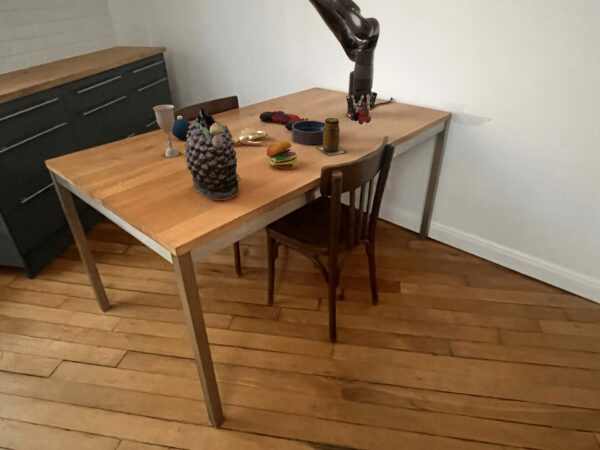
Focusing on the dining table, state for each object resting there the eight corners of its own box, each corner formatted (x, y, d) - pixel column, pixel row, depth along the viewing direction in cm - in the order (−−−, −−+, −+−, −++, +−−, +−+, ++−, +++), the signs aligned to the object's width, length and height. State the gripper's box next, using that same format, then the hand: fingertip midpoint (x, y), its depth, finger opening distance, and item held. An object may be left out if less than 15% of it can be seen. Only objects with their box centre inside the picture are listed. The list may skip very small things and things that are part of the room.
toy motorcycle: (293, 135, 176) (318, 122, 184) (292, 124, 173) (317, 111, 181) (257, 124, 192) (281, 112, 200) (255, 114, 188) (280, 102, 196)
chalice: (164, 159, 151) (154, 111, 141) (160, 153, 156) (151, 106, 147) (183, 155, 154) (175, 108, 144) (179, 149, 159) (171, 103, 149)
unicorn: (246, 141, 154) (214, 136, 163) (247, 151, 156) (216, 145, 165) (278, 127, 168) (248, 122, 177) (279, 136, 170) (249, 131, 179)
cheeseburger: (289, 173, 140) (282, 145, 135) (265, 174, 146) (258, 147, 141) (304, 163, 147) (298, 136, 143) (280, 164, 153) (274, 138, 149)
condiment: (334, 145, 163) (335, 116, 157) (345, 152, 156) (347, 122, 150) (318, 148, 160) (318, 118, 154) (328, 155, 154) (329, 124, 147)
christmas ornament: (188, 142, 166) (184, 118, 160) (169, 141, 167) (165, 117, 162) (196, 135, 173) (193, 112, 167) (178, 134, 174) (174, 111, 169)
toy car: (349, 119, 167) (350, 109, 165) (358, 118, 169) (359, 107, 167) (361, 125, 161) (362, 114, 159) (370, 123, 163) (371, 112, 161)
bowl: (303, 130, 178) (304, 118, 175) (334, 136, 172) (335, 124, 169) (285, 141, 167) (284, 128, 164) (317, 148, 160) (317, 134, 158)
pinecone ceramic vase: (252, 195, 126) (246, 116, 113) (207, 209, 119) (195, 126, 106) (222, 172, 141) (214, 100, 128) (180, 183, 133) (167, 107, 120)
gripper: (354, 80, 150) (351, 125, 159) (384, 75, 156) (379, 119, 165) (342, 76, 156) (340, 120, 165) (372, 72, 161) (368, 114, 171)
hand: (360, 119), depth 165 cm, fingers closed on toy car, 4 cm apart
